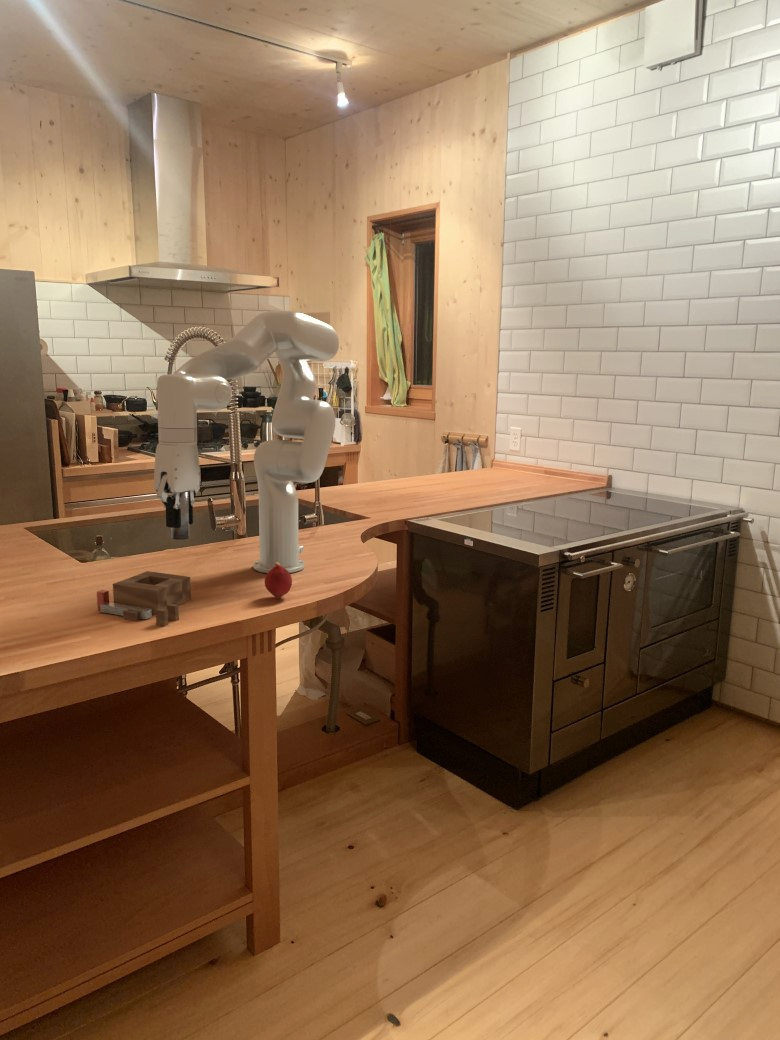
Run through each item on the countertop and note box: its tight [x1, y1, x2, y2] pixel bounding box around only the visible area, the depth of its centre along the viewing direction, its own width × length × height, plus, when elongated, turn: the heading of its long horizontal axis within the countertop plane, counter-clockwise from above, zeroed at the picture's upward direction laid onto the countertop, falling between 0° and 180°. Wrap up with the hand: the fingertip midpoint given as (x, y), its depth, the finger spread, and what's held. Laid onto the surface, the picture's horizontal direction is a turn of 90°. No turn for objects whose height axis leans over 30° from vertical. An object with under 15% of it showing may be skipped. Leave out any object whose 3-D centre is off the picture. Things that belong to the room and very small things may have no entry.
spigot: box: [170, 491, 190, 540], centre depth 159 cm, size 4×4×10 cm
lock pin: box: [96, 589, 153, 620], centre depth 153 cm, size 2×12×4 cm, turn 69°
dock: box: [112, 570, 192, 627], centre depth 158 cm, size 16×16×5 cm
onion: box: [264, 562, 293, 599], centre depth 166 cm, size 6×6×8 cm
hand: (179, 524), depth 159 cm, fingers closed on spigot, 3 cm apart
